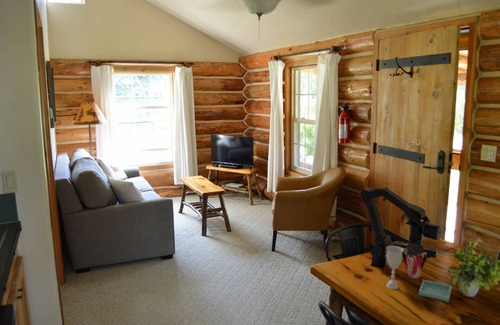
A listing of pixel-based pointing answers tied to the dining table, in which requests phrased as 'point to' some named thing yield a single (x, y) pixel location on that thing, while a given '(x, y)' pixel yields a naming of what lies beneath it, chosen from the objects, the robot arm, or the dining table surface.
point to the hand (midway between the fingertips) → (413, 266)
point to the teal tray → (435, 290)
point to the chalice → (394, 263)
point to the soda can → (413, 266)
